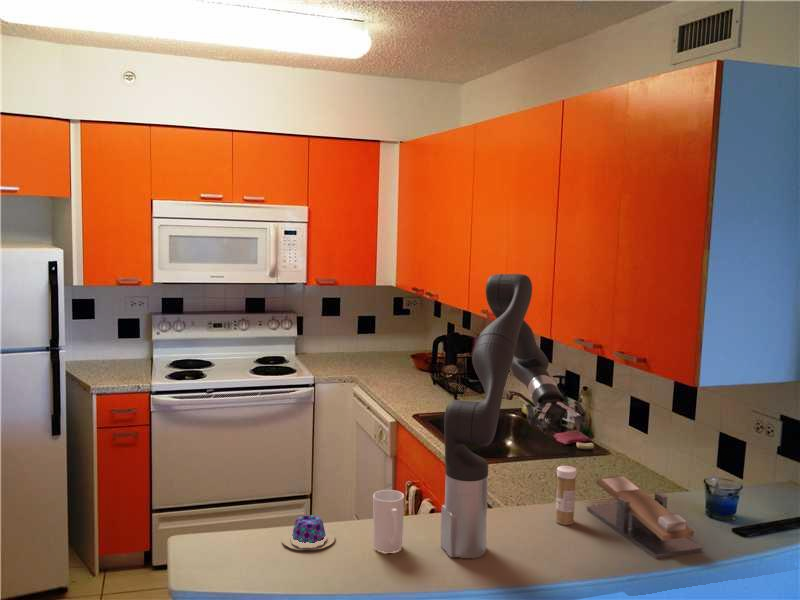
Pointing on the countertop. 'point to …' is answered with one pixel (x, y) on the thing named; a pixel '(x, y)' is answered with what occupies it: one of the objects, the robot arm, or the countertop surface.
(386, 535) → the mug
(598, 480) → the balance beam
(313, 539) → the pudding
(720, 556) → the countertop surface
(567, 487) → the sprinkles bottle
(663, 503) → the stand
